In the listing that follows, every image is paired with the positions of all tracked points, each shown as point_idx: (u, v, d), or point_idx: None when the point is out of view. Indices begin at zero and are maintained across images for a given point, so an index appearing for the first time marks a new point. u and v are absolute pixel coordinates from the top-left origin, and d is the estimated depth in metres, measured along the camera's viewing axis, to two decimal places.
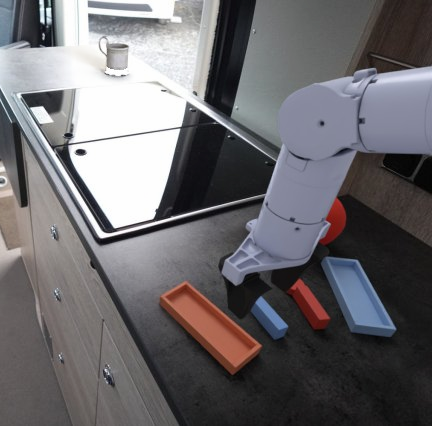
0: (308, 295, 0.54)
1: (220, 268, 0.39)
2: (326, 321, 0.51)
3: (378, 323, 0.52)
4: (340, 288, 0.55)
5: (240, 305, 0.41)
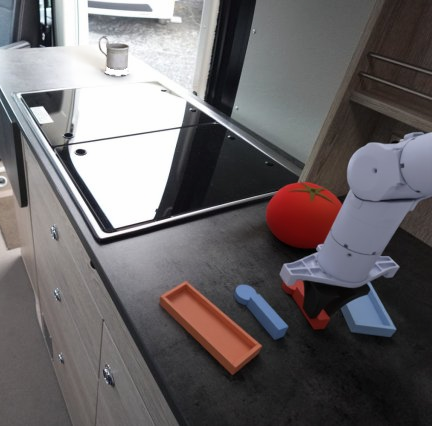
0: None
1: None
2: (326, 321, 0.51)
3: (378, 323, 0.52)
4: None
5: (312, 306, 0.50)
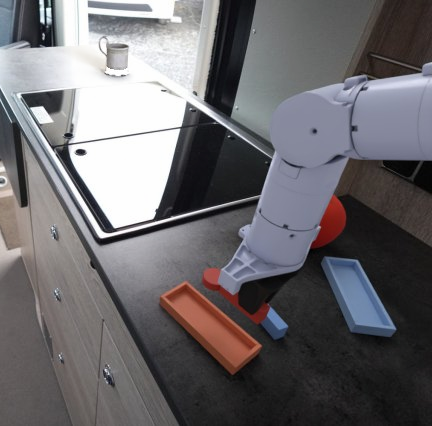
0: None
1: None
2: (267, 311, 0.43)
3: (378, 323, 0.52)
4: (340, 288, 0.55)
5: (251, 301, 0.42)
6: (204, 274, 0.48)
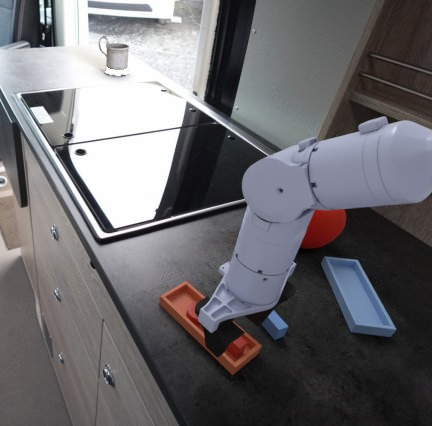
0: None
1: (196, 313, 0.42)
2: (245, 346, 0.47)
3: (378, 323, 0.52)
4: (340, 288, 0.55)
5: (216, 345, 0.43)
6: (188, 308, 0.52)
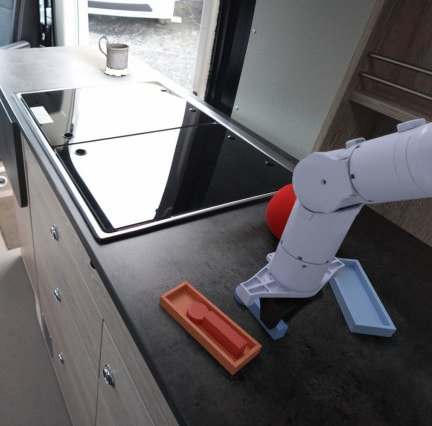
0: (218, 322, 0.49)
1: None
2: (245, 346, 0.47)
3: (378, 323, 0.52)
4: (340, 288, 0.55)
5: (270, 318, 0.49)
6: (188, 308, 0.52)
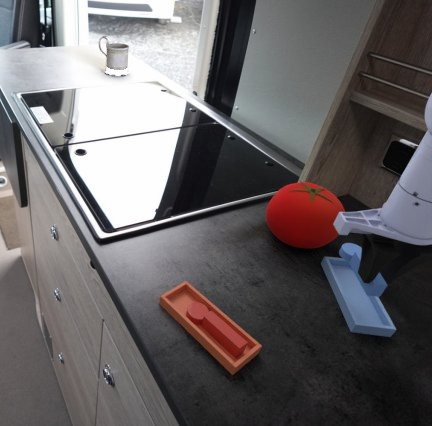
0: (218, 322, 0.49)
1: None
2: (245, 346, 0.47)
3: (378, 323, 0.52)
4: (340, 288, 0.55)
5: (368, 268, 0.46)
6: (188, 308, 0.52)
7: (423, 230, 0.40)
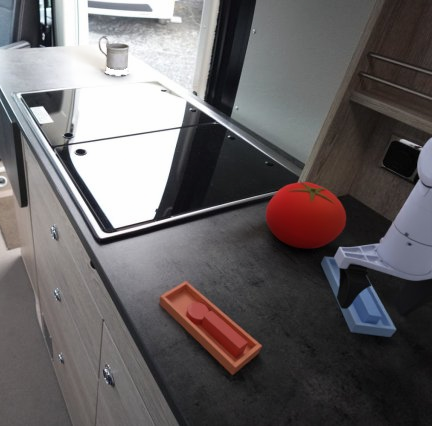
0: (218, 322, 0.49)
1: None
2: (245, 346, 0.47)
3: (378, 323, 0.52)
4: None
5: (345, 295, 0.50)
6: (188, 308, 0.52)
7: (415, 267, 0.43)
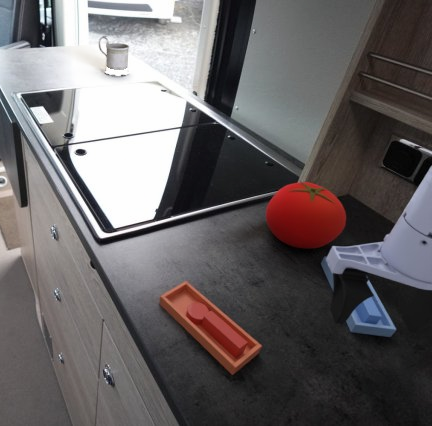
0: (218, 322, 0.49)
1: None
2: (245, 346, 0.47)
3: (378, 323, 0.52)
4: None
5: (340, 307, 0.40)
6: (188, 308, 0.52)
7: None
